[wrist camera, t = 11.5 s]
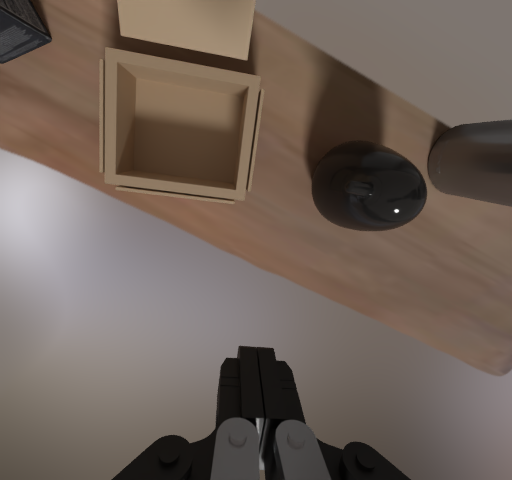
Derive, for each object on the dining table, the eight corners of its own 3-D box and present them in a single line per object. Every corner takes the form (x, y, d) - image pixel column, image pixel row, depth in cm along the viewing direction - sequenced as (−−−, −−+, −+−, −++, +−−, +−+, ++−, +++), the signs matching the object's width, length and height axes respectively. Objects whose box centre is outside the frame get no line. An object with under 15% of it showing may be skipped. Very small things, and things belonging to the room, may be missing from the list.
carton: (257, 90, 35) (266, 77, 29) (243, 196, 39) (248, 206, 32) (123, 66, 33) (98, 45, 26) (120, 180, 36) (98, 188, 30)
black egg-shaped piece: (313, 132, 37) (373, 122, 23) (388, 151, 39) (486, 153, 25) (293, 211, 40) (334, 246, 26) (363, 225, 42) (439, 266, 27)
